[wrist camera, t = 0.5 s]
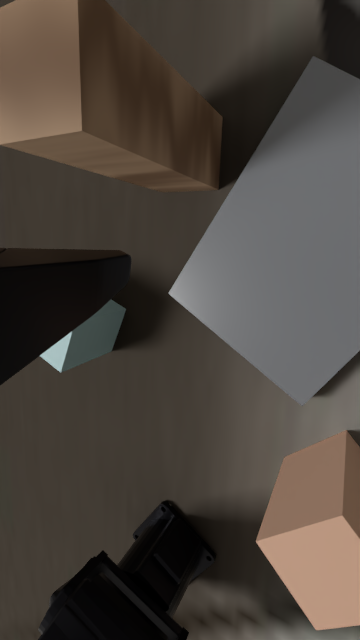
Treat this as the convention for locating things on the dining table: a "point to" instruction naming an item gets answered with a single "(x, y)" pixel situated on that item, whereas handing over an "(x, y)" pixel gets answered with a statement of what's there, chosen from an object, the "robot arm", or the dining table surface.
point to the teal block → (87, 339)
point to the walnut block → (102, 98)
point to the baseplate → (289, 242)
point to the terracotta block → (318, 530)
